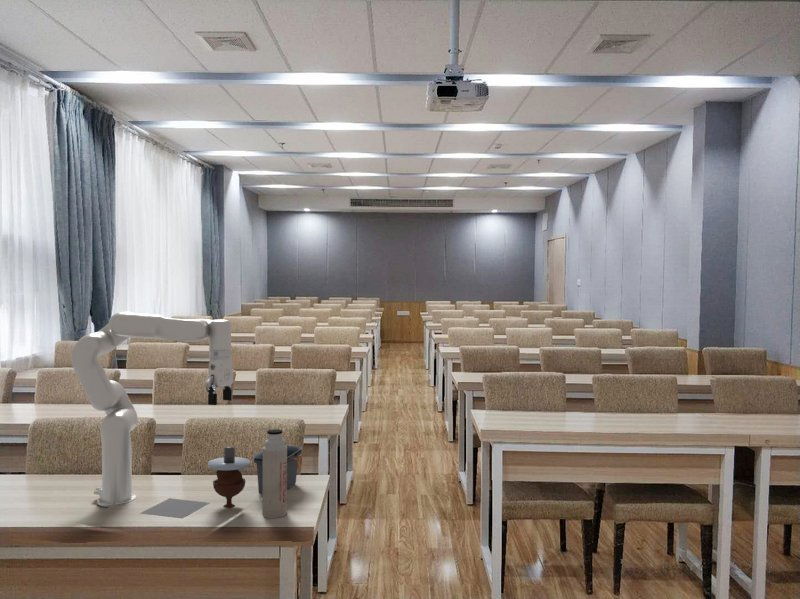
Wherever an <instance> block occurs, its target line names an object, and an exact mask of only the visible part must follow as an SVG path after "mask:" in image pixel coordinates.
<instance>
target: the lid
mask: <svg viewBox="0 0 800 599" xmlns="http://www.w3.org/2000/svg"><path fill="white" fill-rule="evenodd" d="M250 466H251V460H250V459H248V458H245V457H241V456H240V457H238V456H236V447H235V446H234V445H233V446H232V445H229V446H227V445H226V446H224V447H223V457H217V458H214V459H211V460H209V461H207V468H209V469H212V470H215V471H217V470H224V471H227V470H239V471H240V470H243V469H247V468H249V467H250Z"/></svg>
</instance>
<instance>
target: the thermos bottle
mask: <svg viewBox="0 0 800 599" xmlns="http://www.w3.org/2000/svg"><path fill="white" fill-rule="evenodd" d="M285 445H286V440H285V439H284V438H283V429H278V428H277V429H275V428H273V429H269V430H267V439H265V440H264V446H262V450H263V494H262V497H261V498H262V499H261V500H262V509H261V510H262V513H261V514H262V516H263V517H264V518H270V519H273V518H274V519H276V518H282V517H284V516H286V515H287V513H288V512H287V510H288V490H287V446H288V445H286V446H285Z"/></svg>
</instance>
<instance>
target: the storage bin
mask: <svg viewBox="0 0 800 599" xmlns="http://www.w3.org/2000/svg"><path fill="white" fill-rule="evenodd" d="M285 446H287V491H288V490H289V489H290V488H291V487H293V486H294V485H296V484H297V483H296V482H297V474H298V469H300V468H301V467H302V465H303V464H302V463H303V457H302V449H303V446H300V445H299V446H298V445H286V444H285ZM252 458H253V463H254V464H256V472H257V487H258V489H257V490H258V494H259V495H263V449H262V450H261V451H259V452H257V453H255V454H253V455H252ZM299 458H300V465H299Z"/></svg>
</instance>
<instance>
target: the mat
mask: <svg viewBox="0 0 800 599" xmlns="http://www.w3.org/2000/svg"><path fill="white" fill-rule="evenodd" d="M209 504H210V502H207V501H197V500H188V499H180V498H179V499H178V498H171V497H170V498H167V499H166V500H163V501H162V502H159V503H157V504H156V505H153V506H151V507H149V508H148V509H145V510H143V511H142V512H140V514H143V515H153V516H160V517H168V518H178V519H184V518H186V517H188V516H189V515H191V514H193V513H195V512H196V511H198V510H200V509H202V508H203V507H205V506H207V505H209Z"/></svg>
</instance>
